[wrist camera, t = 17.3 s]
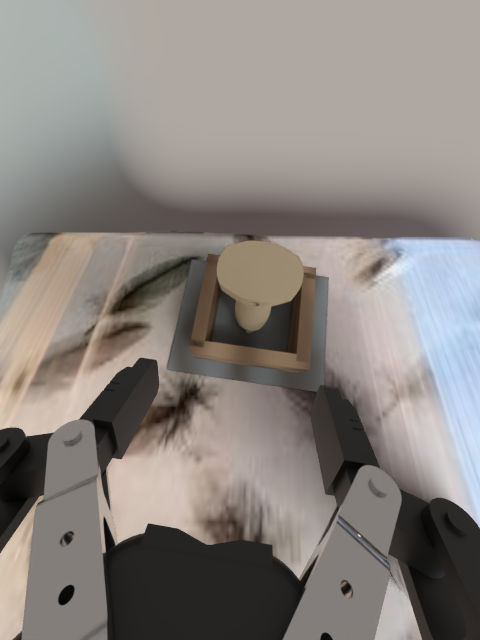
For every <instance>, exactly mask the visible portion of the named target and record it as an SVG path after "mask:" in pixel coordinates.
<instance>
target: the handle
mask: <svg viewBox="0 0 480 640" xmlns="http://www.w3.org/2000/svg"><path fill="white" fill-rule="evenodd" d="M217 278H218V282H219V285H220V287H221V289H222V291H224V292H225V293H226V294H228V295H229V296H231V297H232V298H234V299H235V300H236V303H235V316H236V320H237V322H238V325H239V327H241V328H242V329H244V330H245V331H246V333H251V332H252V331H256V330H259V329H260V328H261V327H262V326H263V325H264V324H265V323H266V321H267V319H268V317H269V315H270V311H271V306H275V305H279V304H283V303H286V302H289V301H291V300H292V299H293V298H294V297H295V295H296V294H297V292H298V291H299V289H300V287H301V285H302V282H303V265H302V262H301V260H300V258H299V257H298V256H297V255H295V254H294V253H292V252H291V251H289V250H287V249H286V248H284V247H282V246H280V245H277V244H273V243H268V242H261V241H245V242H241V243H237V244H233V245H229V246H228V247H226V248H225V249H224V251H223V252H222V253H221V255H220V257H219V260H218V263H217Z"/></svg>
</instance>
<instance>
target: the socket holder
mask: <svg viewBox="0 0 480 640" xmlns="http://www.w3.org/2000/svg"><path fill="white" fill-rule="evenodd" d="M219 257H220V255H213V254H208V257H207V261H200V260H191V265H190V269H189V274H188V279H187V283H186V288H185V292H184V297H183V301H182V306H181V310H180V315H179V319H178V324H177V328H176V333H175V338H174V342H173V347H172V351H171V356H170V360H169V365H168V369H167V370H171V371H178V372H184V373H191V374H198V375H205V376H212V377H218V378H225V379H232V380H239V381H246V382H252V383H259V384H266V385H273V386H280V387H287V388H293V389H300V390H307V391H314V392H317V391H318V388H319V386H320V385H324V370H325V347H326V325H327V303H328V280H329V277H321V276H316V268H312V267H304V266H303V282H302V285H301V287H300V289H299V291H298V292H297V294H296V295H295V297H294V298H293V299H292V300H291V301H289V302H286V303H283V304H279V305H275V306H271V311H270V315H269V317H268V319H267V321H266V323H265V324H264V325H263V326H262V327H261V328H260V329H259V330H256V331H252V332H251V333H246V331H245V330H244V329H242V328H241V327H239V325H238V322H237V320H236V316H235V303H236V300H235V299H234V298H232V297H231V296H229V295H228V294H226V293H225V292H224V291H222V289H221V287H220V285H219V282H218V278H217V263H218V260H219Z"/></svg>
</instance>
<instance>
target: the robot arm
mask: <svg viewBox="0 0 480 640" xmlns="http://www.w3.org/2000/svg"><path fill="white" fill-rule="evenodd" d="M158 388H159V376H158V365H157V361H156V360H153V359H146V358H139V359H138V361H137V362H136V363H135V364H134V366H133V367H126V368H124V369H123V370H121V371H120V372H118V373H117V374H116V375H115V376H114V378H113V379H112V380H111V381H110V383H109V384H108V385H107V386H106V387H105V389H104V391H102V392H101V393H100V395H99V396H98V397H97V398H96V400H95V401H94V402H93V403H92V404H91V406H90V407H89V408H88V409H87V410H86V412H85V413H84V414H83V415H82V417H81V418H80V419H79V420H75V421H72V422H69V423H67V424H65V425H63V426H61V427H60V428H59V429H57V430H56V431H55V432H54V433H49V434H42V435H34V436H27V437H26V435H25V433H24V432H23V430H22V429H19V428H6V429H2V430H0V553H1V551H2V550H3V548H4V547H5V545H6V544H7V542H8V541H9V540H10V538H11V537H12V535H13V534H14V532H15V531H16V529H17V528H18V527H19V525H20V524H21V522H22V521H23V519H24V518H25V516H26V515H27V513H28V512H29V511H30V509H31V508H32V506H33V505H34V503H35V502H36V500H37V499H38V497H39V496H42V495H44V497H43V501H41V502H39V503H38V504H37V506H36V509H35V515H34V524H33V534H32V543H31V553H30V562H29V572H28V582H27V591H26V601H25V610H24V620H23V630H22V631H21V632H20V633H19V634H18V635H17V636H16V637H15V638H14V639H13V640H374V639H375V634H376V630H377V626H378V622H379V618H380V614H381V609H382V605H383V601H384V597H385V593H386V589H387V585H388V580H389V576H390V572H391V574H392V576H393V578H394V580H395V581H396V583H397V584H398V586H399V587H400V589H401V590H402V591H403V592H404V594H405V595H406V596H407V597H408V599H409V600H410V601H411V605H412V608H413V611H414V614H415V617H416V621H417V624H418V627H419V630H420V633H421V637H422V640H480V528H479V527H478V525H477V524H476V522H475V521H474V520H473V519H472V518H471V517H470V515H469V514H468V513H466V512H465V511H464V510H463V509H462V508H461V507H459V506H458V505H456V504H455V503H453V502H451V501H449V500H447V499H443V498H435V499H433V500H432V501H431V502H430V503H427V502H425V501H423V500H421V499H419V498H417V497H415V496H413V495H411V494H408V493H406V492H404V491H403V490H401V489H399V488H398V486H397V484H396V483H395V481H394V480H393V479H392V478H391V477H390V476H389V475H388V474H387V473H386V472H384V471H383V470H381V469H380V466H379V464H378V462H377V459H376V457H375V454H374V452H373V450H372V447H371V445H370V442H369V440H368V437H367V435H366V433H365V432H364V428H363V425H362V423H361V422H360V421H361V420H360V418H359V415H358V413H357V411H356V409H355V408H354V407H353V406H352V404H351V403H350V402H349V401H348V400H343V399H342V397H341V395H340V392H339V389H338V388H337V387H332V386H325V385H320V386H319V388H318V391H317V394H316V396H315V399H314V402H313V405H312V408H311V422H312V427H313V432H314V437H315V442H316V448H317V453H318V458H319V463H320V468H321V473H322V478H323V484H324V489H325V494H328V495H334V496H335V498H336V502H337V505H336V507H335V509H334V511H333V513H332V515H331V517H330V519H329V521H328V523H327V525H326V528H325V530H324V532H323V534H322V536H321V538H320V540H319V542H318V544H317V546H316V548H315V550H314V552H313V554H312V556H311V558H310V559H309V561H308V563H307V565H306V567H305V569H304V571H303V573H302V575H301V577H300V579H298V578H297V577H296V575H295V574H294V573H293V572H292V571H291V570H290V569H289V568H288V567H287V566H286V565H285V564H284V563H283V562H282V561H280V560H279V559H278V558H276V557H274V556H273V554H272V545H268V544H263V543H257V542H251V541H245V540H237V541H231V542H226V543H220V544H214V545H206V544H204V543H202V542H200V541H199V540H197V539H195V538H193V537H192V536H190V535H188V534H186V533H185V532H183V531H181V530H179V529H177V528H171V527H165V526H160V525H154V524H148V525H147V528H146V531H145V533H143V534H139V535H136V536H133V537H130V538H128V539H126V540H124V541H122V542H120V543H119V544H118V540H117V533H116V528H115V523H114V518H113V512H112V504H111V496H110V487H109V479H108V471H107V466H108V464H109V462H110V461H111V459H112V458H116V459H122V457H123V455H124V454H125V452H126V450H127V448H128V446H129V444H130V443H131V441H132V439H133V437H134V435H135V433H136V432H137V430H138V428H139V426H140V424H141V422H142V420H143V419H144V417H145V415H146V413H147V411H148V409H149V408H150V406H151V404H152V402H153V400H154V398H155V397H156V395H157V392H158Z"/></svg>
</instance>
